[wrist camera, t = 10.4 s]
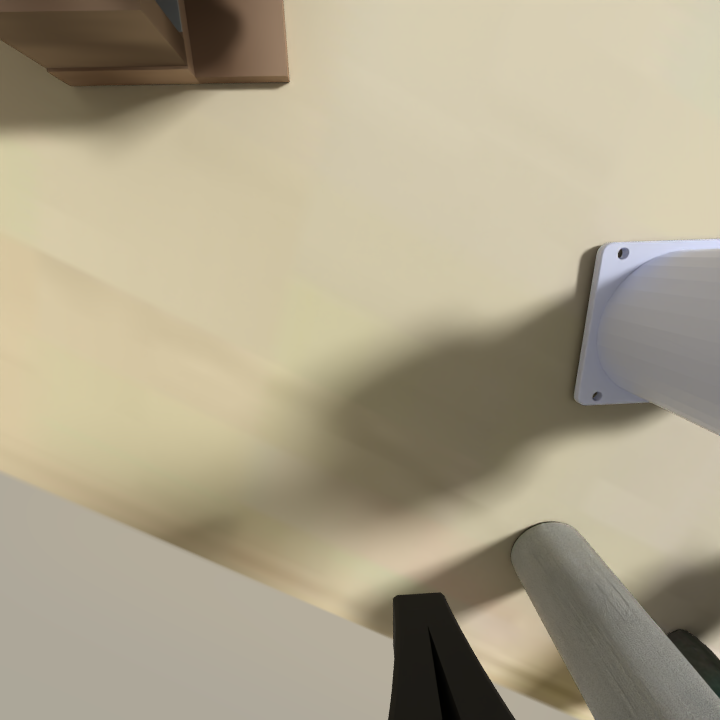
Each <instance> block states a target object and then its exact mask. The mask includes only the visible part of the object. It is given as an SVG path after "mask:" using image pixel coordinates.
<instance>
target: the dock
mask: <svg viewBox="0 0 720 720" xmlns="http://www.w3.org/2000/svg"><path fill="white" fill-rule="evenodd" d="M0 40H2V41H3V42H5V43H7V44H8V45H10V46H11V47H13V48H15V49H16V50H18V51H19V52H21V53H23V54H24V55H26V56H27V57H29V58H31V59H32V60H34V61H35V62H37V63H39V64H40V65H42V66H43V67H45V68H47V72H49V73H50V74H52V75H53V76H55V77H57V78H58V79H60V80H62V81H63V82H65V83H66V84H68V85H70V86H97V85H150V84H203V83H255V82H290V81H289V68H288V55H287V43H286V30H285V17H284V4H283V0H0Z"/></svg>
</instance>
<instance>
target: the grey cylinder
mask: <svg viewBox="0 0 720 720" xmlns="http://www.w3.org/2000/svg"><path fill="white" fill-rule="evenodd" d="M511 562H512V565H513V567H514V569H515V571H516V574H517V576H518V577H519V579H520V581H521V583H522V585H523V587H524V589H525V590H526V592H527V594H528V596H529V598H530V600H531V602H532V603H533V605H534V607H535V609H536V611H537V613H538V615H539V616H540V618H541V620H542V622H543V624H544V626H545V628H546V629H547V631H548V633H549V635H550V637H551V639H552V641H553V642H554V644H555V646H556V648H557V650H558V652H559V654H560V656H561V657H562V659H563V661H564V663H565V665H566V667H567V669H568V670H569V672H570V674H571V676H572V678H573V680H574V682H575V683H576V685H577V687H578V689H579V691H580V693H581V695H582V696H583V698H584V700H585V702H586V704H587V706H588V708H589V709H590V711H591V713H592V715H593V717H594V719H595V720H720V698H719V697H718V696H717V695H716V694H715V693H714V691H713V690H712V689H711V688H710V687H709V685H708V684H707V683H706V682H705V681H704V680H703V678H702V677H701V676H700V675H699V674H698V672H697V671H696V670H695V669H694V668H693V666H692V665H691V664H690V663H689V662H688V661H687V659H686V658H685V657H684V656H683V655H682V653H681V652H680V651H679V650H678V649H677V648H676V646H675V645H674V644H673V643H672V642H671V640H670V639H669V638H668V637H667V636H666V635H665V633H664V632H663V631H662V630H661V629H660V627H659V626H658V625H657V624H656V623H655V621H654V620H653V619H652V618H651V617H650V616H649V614H648V613H647V612H646V611H645V610H644V608H643V607H642V606H641V605H640V604H639V603H638V601H637V600H636V599H635V598H634V597H633V595H632V594H631V593H630V592H629V591H628V589H627V588H626V587H625V586H624V585H623V584H622V582H621V581H620V580H619V579H618V578H617V576H616V575H615V574H614V573H613V572H612V571H611V569H610V568H609V567H608V566H607V565H606V563H605V562H604V561H603V560H602V559H601V558H600V556H599V555H598V554H597V553H596V552H595V550H594V549H593V548H592V547H591V546H590V544H589V543H588V542H587V541H586V540H585V539H584V537H583V536H582V535H581V534H580V533H579V532H578V531H577V530H576V529H575V528H573V527H572V526H570V525H568V524H565V523H560V522H547V523H542V524H539V525H536V526H534V527H532V528H530V529H528V530H527V531H525V532H524V533H523V534H522V535H521V536H520V537H519V538H518V539H517V541H516V542H515V544H514V546H513V548H512V552H511Z"/></svg>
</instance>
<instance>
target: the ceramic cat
mask: <svg viewBox="0 0 720 720" xmlns="http://www.w3.org/2000/svg"><path fill="white" fill-rule="evenodd" d="M666 636H667V637H668V638H669V639H670V640H671V642H672V643H673V644H674V645H675V646H676V648H677V649H678V650H679V651H680V652H681V653H682V655H683V656H684V657H685V658H686V659H687V661H688V662H689V663H690V664H691V665H692V666H693V668H694V669H695V670H696V671H697V672H698V674H699V675H700V676H701V677H702V678H703V680H704V681H705V682H706V683H707V684H708V685H709V687H710V688H711V689H712V690H713V691H714V693H715V694H716V695H717V696H718V697H719V698H720V660H719V659H718V658H717V656H716V655H715V654H714V653H713V652H712V651H711V650H710V649H709V648H708V647H707V646H706V645H704V644H703V643H702V642H701V641H700V640H699V639H697V638H696V637H695V636H693V635H692V634H690V633H689V632H688V631H686V630H677V631H675V632H672V633H669V634H667V635H666Z"/></svg>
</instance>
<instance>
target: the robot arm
mask: <svg viewBox="0 0 720 720" xmlns="http://www.w3.org/2000/svg"><path fill="white" fill-rule="evenodd" d="M620 249H622V256H621V257H620V258H618V252H619V250H620ZM595 392H597V395H596V396H595V397H594V398H592V396H593V394H594V393H595ZM574 399H575V400H576V401H577V402H578V403H580V404H581V405H606V404H627V403H647V402H651V403H653V404H655V405H657V406H659V407H661V408H663V409H665V410H667V411H669V412H671V413H674V414H676V415H678V416H680V417H682V418H684V419H686V420H688V421H690V422H692V423H694V424H696V425H698V426H700V427H702V428H705V429H707V430H709V431H711V432H713V433H715V434H717V435H719V436H720V239H697V240H667V241H638V242H610V243H605V244H603V245H602V246H601V247H600V248H599V249H598V252H597V255H596V261H595V267H594V273H593V279H592V286H591V292H590V298H589V304H588V311H587V317H586V323H585V329H584V336H583V342H582V348H581V354H580V360H579V367H578V373H577V379H576V385H575V392H574ZM393 647H394V658H395V659H394V671H393V684H392V694H391V703H390V710H389V718H388V720H515V718H514V717H513V715H512V714H511V712H510V711H509V709H508V707H507V706H506V704H505V703H504V701H503V700H502V698H501V696H500V695H499V693H498V692H497V690H496V689H495V687H494V685H493V684H492V682H491V680H490V679H489V677H488V675H487V674H486V672H485V670H484V669H483V667H482V666H481V664H480V662H479V661H478V659H477V657H476V655H475V654H474V652H473V650H472V648H471V647H470V645H469V643H468V641H467V639H466V638H465V636H464V634H463V632H462V630H461V629H460V627H459V625H458V623H457V621H456V619H455V617H454V615H453V613H452V611H451V609H450V607H449V605H448V603H447V601H446V599H445V596H444V595H443V594H442V593H425V594H409V595H397V596H396V597H394V598H393Z"/></svg>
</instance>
